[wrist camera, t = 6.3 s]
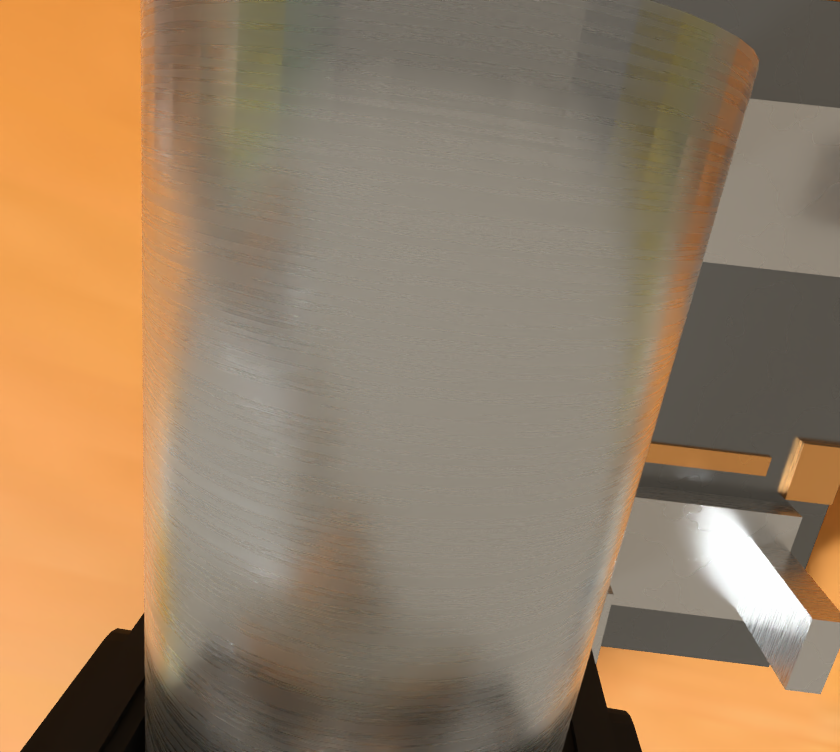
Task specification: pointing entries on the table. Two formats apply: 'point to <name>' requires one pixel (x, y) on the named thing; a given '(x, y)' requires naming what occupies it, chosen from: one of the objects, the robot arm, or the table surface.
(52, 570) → the table surface
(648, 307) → the banded metal cylinder
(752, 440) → the cylinder mounting fixture
